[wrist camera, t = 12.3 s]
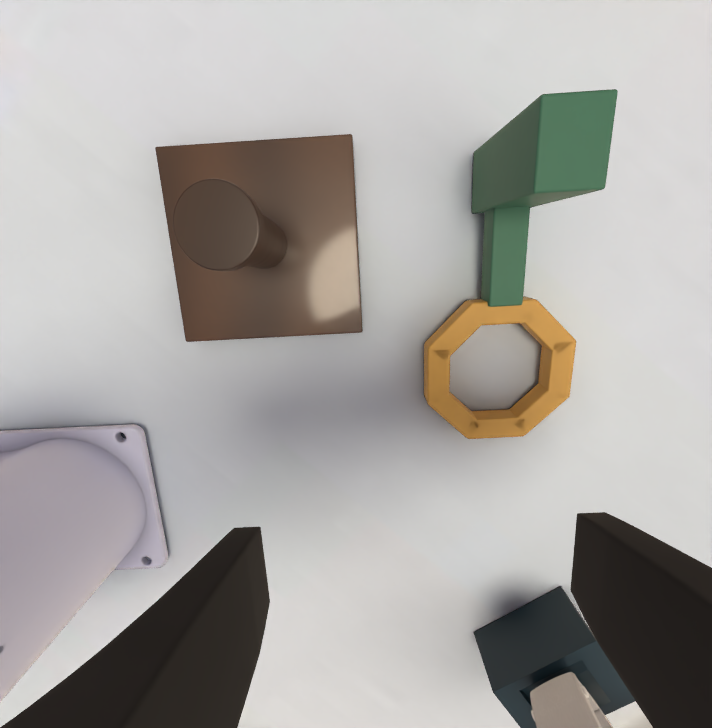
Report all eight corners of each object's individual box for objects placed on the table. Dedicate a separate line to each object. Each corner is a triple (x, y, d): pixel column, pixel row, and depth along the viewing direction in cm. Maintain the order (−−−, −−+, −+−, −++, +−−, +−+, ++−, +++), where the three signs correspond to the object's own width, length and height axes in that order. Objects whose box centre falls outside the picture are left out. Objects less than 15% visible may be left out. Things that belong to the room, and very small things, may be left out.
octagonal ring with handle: (546, 418, 19) (627, 491, 13) (421, 424, 19) (448, 499, 13) (575, 145, 15) (706, 81, 9) (420, 155, 15) (456, 98, 10)
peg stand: (193, 339, 17) (106, 369, 11) (164, 153, 16) (44, 73, 10) (362, 330, 17) (363, 356, 11) (352, 140, 15) (347, 52, 9)
